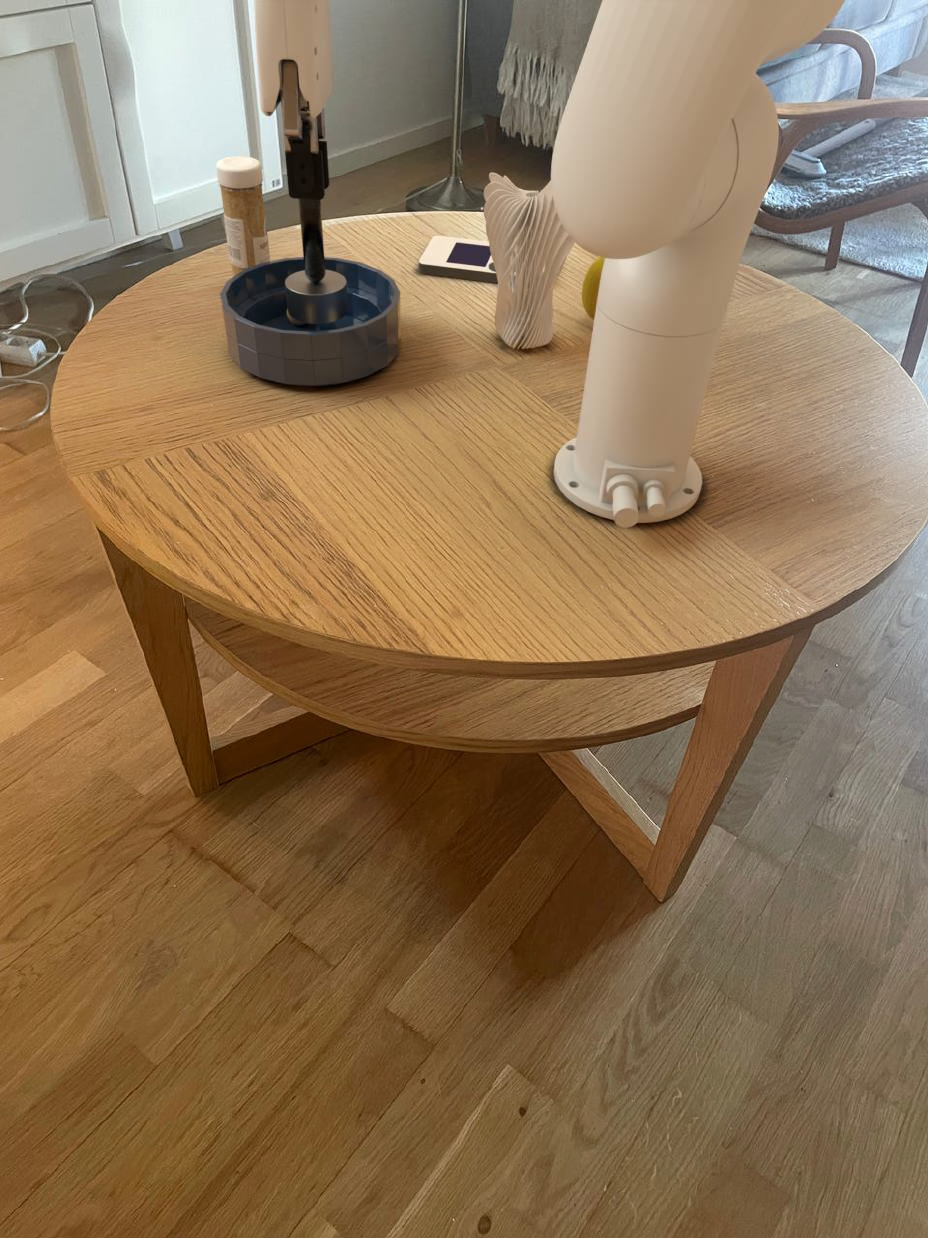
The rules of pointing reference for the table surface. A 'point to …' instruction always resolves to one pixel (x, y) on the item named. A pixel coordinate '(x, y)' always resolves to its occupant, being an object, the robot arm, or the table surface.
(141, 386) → the table surface
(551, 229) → the shell sculpture
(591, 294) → the lemon
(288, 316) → the bean
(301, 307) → the weighted rod stand
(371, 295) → the bowl
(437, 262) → the handheld game console
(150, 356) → the table surface
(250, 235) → the sprinkles bottle
